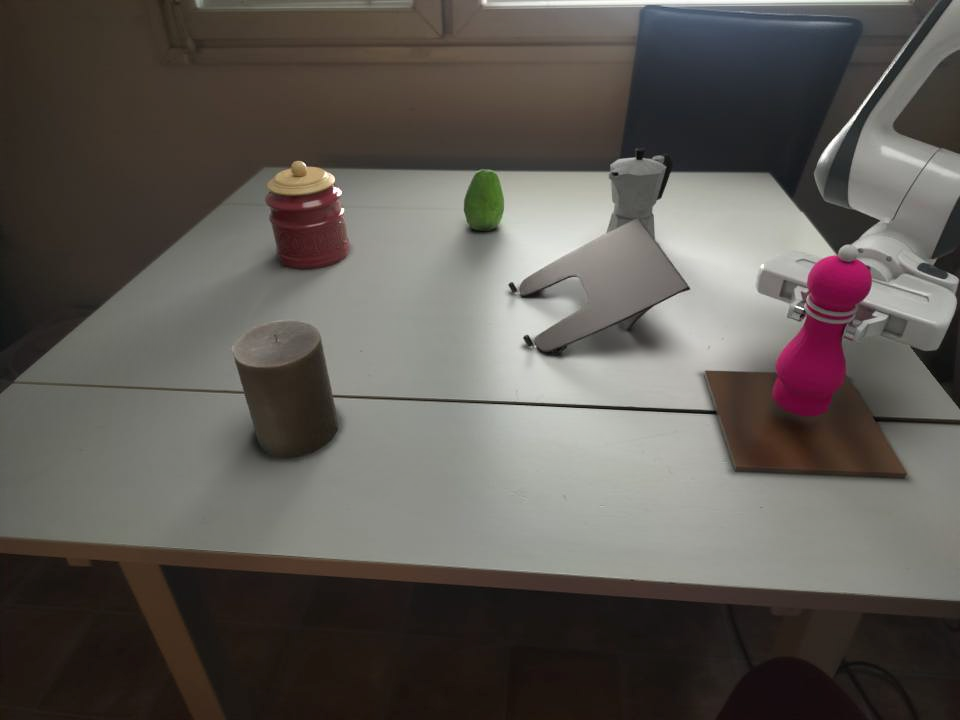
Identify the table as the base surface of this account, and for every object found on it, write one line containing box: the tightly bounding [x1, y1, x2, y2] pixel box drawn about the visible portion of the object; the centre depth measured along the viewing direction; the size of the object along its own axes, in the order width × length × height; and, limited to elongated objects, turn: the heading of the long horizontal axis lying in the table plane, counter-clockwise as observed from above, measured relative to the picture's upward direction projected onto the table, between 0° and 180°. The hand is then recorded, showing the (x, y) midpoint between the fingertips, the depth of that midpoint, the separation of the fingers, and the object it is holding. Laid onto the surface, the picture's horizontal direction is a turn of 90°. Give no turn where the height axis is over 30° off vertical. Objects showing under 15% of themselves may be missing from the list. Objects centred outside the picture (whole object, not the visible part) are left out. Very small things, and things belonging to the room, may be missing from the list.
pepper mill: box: [772, 244, 872, 416], centre depth 73 cm, size 7×7×20 cm
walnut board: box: [703, 370, 908, 479], centre depth 80 cm, size 18×18×2 cm
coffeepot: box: [605, 147, 674, 240], centre depth 117 cm, size 15×9×18 cm, turn 126°
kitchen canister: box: [264, 160, 351, 270], centre depth 117 cm, size 13×13×18 cm
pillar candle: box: [230, 318, 340, 459], centre depth 77 cm, size 10×10×15 cm
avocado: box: [463, 168, 505, 232], centre depth 126 cm, size 8×8×12 cm
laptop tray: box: [507, 218, 691, 355], centre depth 100 cm, size 23×23×9 cm
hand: (822, 324), depth 72 cm, fingers closed on pepper mill, 5 cm apart
